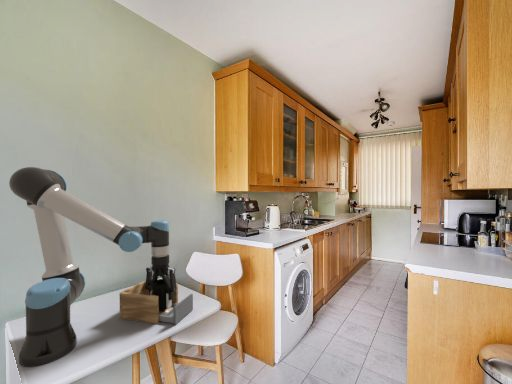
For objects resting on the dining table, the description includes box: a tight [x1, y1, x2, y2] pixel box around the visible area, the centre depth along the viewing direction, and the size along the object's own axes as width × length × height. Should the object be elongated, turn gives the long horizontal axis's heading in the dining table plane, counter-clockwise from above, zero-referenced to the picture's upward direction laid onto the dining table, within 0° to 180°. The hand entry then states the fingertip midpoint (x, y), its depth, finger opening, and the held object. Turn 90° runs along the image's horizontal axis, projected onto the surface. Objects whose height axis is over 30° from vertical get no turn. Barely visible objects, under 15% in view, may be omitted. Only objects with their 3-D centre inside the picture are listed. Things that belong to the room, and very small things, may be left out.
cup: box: [151, 278, 168, 311], centre depth 109 cm, size 8×8×12 cm
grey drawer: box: [159, 293, 194, 325], centre depth 108 cm, size 14×18×7 cm
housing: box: [119, 280, 179, 324], centre depth 110 cm, size 15×19×11 cm
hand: (161, 305), depth 109 cm, fingers closed on cup, 8 cm apart
